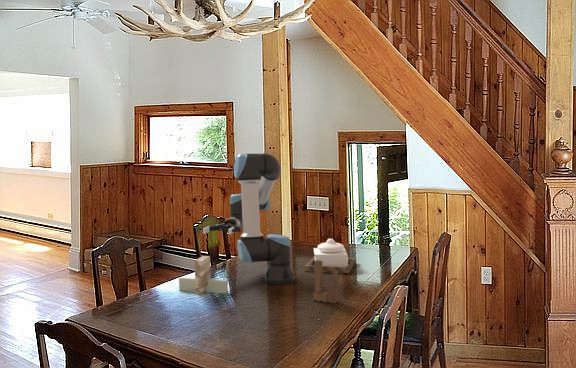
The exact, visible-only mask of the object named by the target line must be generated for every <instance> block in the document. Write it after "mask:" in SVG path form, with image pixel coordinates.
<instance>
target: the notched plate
mask: <svg viewBox="0 0 576 368" xmlns="http://www.w3.org/2000/svg"><path fill="white" fill-rule="evenodd" d="M194 278H195V289H196V291H195V295H204V294H205V293H206V292H205V286H206V285H208V279H212V278H211V256H210V255H202V256H201V257H198V258H196V259H195V260H194Z"/></svg>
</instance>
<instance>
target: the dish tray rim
mask: <svg viewBox="0 0 576 368" xmlns="http://www.w3.org/2000/svg"><path fill="white" fill-rule="evenodd" d="M314 261H315V255H314V256H313V257H312V258H311V259H310V260H309V261H308V262H307V263H306V264H305V265H304V272H306V271H314ZM348 263H349V264H348V266H347V267H329V266H322V273H325V272H336V271H338V274H344V273H349V272H350V273H351V271H352V270H353V268H354V267H355V265H356V264H357V263H356V257H355V258H354V257H348ZM355 263H356V264H355ZM354 264H355V265H354ZM353 266H354V267H353ZM352 267H353V268H352ZM351 269H352V270H351ZM350 270H351V271H350ZM350 273H349V274H350Z"/></svg>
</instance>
